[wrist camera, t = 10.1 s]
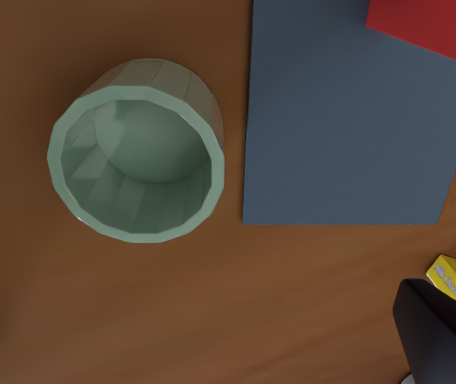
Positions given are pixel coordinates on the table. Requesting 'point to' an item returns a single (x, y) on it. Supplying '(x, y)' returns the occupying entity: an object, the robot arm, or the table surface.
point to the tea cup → (140, 152)
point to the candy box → (444, 275)
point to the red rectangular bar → (417, 23)
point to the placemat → (344, 120)
